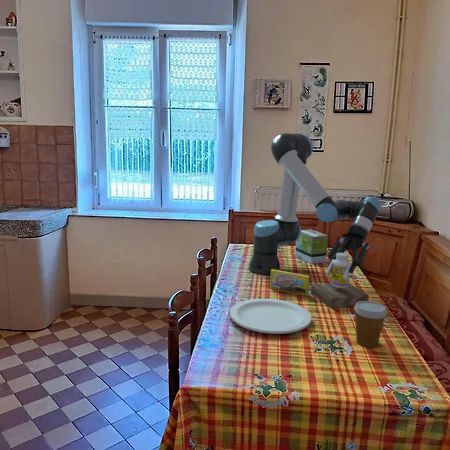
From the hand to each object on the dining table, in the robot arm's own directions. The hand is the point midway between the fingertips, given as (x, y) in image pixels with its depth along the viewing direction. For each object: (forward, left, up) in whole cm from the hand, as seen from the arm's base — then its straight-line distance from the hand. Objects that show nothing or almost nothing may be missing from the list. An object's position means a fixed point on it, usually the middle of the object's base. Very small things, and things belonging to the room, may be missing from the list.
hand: (336, 276), depth 160 cm
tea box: (+19, +57, -10) cm, 61 cm away
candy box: (-13, +14, -10) cm, 22 cm away
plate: (-31, -10, -11) cm, 34 cm away
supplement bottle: (+3, +2, -5) cm, 6 cm away
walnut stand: (+3, +2, -10) cm, 11 cm away
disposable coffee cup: (-8, -33, -10) cm, 36 cm away
